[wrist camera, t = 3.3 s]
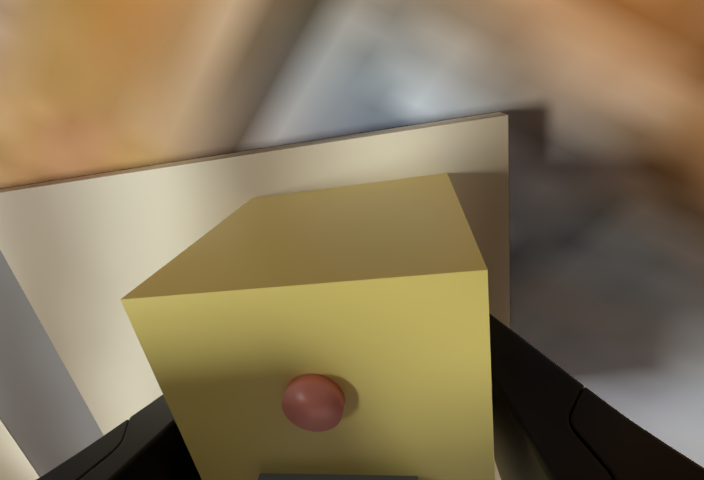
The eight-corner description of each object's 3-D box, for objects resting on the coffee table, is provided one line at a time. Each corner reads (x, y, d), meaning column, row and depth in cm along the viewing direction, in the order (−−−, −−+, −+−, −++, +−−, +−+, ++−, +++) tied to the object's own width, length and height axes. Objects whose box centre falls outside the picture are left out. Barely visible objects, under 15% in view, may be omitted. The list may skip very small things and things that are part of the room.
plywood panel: (499, 111, 8) (508, 115, 7) (507, 523, 13) (512, 549, 13) (-165, 214, 12) (-202, 223, 11) (41, 505, 17) (24, 524, 16)
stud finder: (447, 172, 8) (493, 283, 4) (464, 416, 11) (504, 651, 6) (252, 198, 9) (102, 313, 5) (311, 417, 12) (253, 626, 7)
